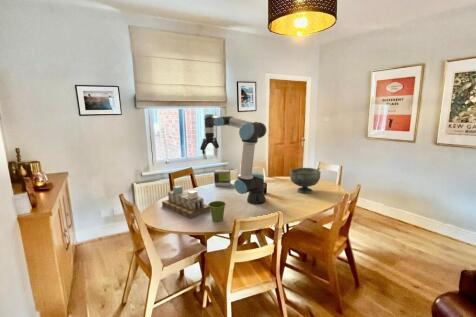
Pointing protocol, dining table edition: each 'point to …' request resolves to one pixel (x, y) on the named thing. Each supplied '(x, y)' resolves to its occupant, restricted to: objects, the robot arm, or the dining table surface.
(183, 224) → the dining table surface
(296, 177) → the decorative bowl
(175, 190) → the cargo crate
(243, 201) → the dining table surface
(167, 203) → the grey flat block
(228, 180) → the tea box
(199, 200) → the grey lumpy bar
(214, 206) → the plant pot
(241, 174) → the robot arm
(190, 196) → the cargo crate
